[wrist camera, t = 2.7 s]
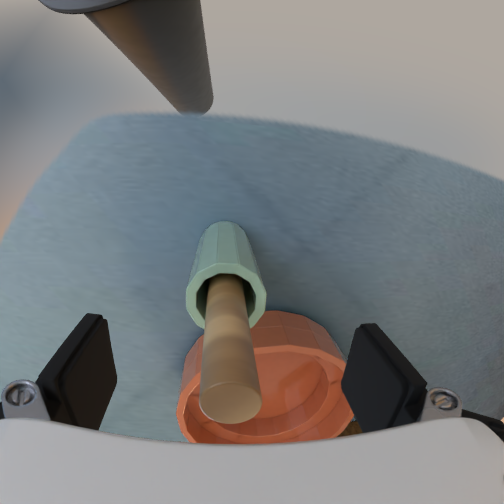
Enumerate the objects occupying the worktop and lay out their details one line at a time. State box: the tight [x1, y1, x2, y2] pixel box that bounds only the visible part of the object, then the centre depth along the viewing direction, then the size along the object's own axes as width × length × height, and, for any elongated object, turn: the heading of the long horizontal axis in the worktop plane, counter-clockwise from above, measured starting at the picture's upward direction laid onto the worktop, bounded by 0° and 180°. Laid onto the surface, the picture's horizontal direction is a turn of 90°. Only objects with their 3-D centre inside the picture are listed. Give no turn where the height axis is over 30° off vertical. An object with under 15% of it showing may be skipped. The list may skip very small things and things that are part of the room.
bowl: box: [176, 310, 354, 444], centre depth 25 cm, size 15×15×6 cm
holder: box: [186, 221, 267, 329], centre depth 19 cm, size 4×4×10 cm
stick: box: [199, 273, 262, 424], centre depth 15 cm, size 2×2×16 cm
